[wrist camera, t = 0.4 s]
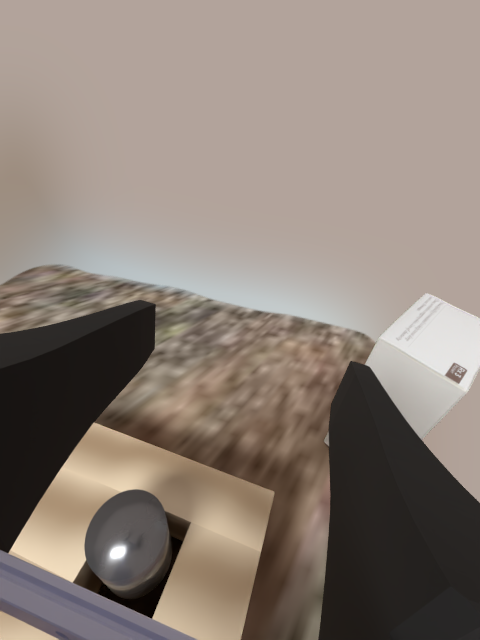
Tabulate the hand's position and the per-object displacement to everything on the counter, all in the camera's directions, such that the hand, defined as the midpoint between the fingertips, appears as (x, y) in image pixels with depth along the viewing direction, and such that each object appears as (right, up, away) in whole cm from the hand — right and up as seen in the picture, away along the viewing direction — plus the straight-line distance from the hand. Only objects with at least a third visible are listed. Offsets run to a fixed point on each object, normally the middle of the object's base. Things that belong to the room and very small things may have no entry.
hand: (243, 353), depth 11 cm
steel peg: (-6, -14, +8) cm, 17 cm away
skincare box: (+13, -11, +19) cm, 25 cm away
